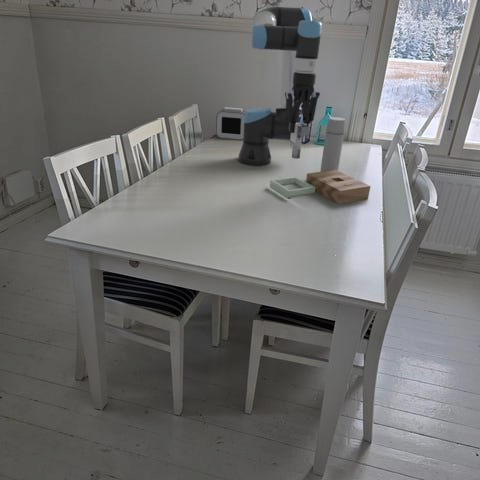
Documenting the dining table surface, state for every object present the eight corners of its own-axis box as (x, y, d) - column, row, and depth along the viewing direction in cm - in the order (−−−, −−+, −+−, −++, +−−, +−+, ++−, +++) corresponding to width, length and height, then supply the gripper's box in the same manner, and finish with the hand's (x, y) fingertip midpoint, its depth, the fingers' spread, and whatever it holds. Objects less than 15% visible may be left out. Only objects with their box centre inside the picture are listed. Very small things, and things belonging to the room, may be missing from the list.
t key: (298, 160, 151) (302, 127, 145) (286, 154, 157) (289, 122, 152) (305, 160, 152) (309, 126, 147) (293, 154, 158) (296, 122, 153)
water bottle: (337, 183, 171) (347, 121, 160) (318, 181, 173) (326, 119, 161) (337, 176, 179) (346, 117, 168) (318, 174, 181) (327, 115, 169)
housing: (305, 188, 165) (307, 173, 162) (333, 184, 171) (335, 169, 168) (337, 206, 149) (340, 190, 146) (367, 201, 155) (370, 185, 152)
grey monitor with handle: (215, 137, 230) (216, 108, 223) (220, 133, 240) (220, 105, 233) (245, 140, 228) (246, 111, 221) (248, 135, 238) (249, 107, 231)
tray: (269, 187, 163) (270, 179, 162) (295, 184, 168) (296, 176, 167) (288, 199, 153) (288, 191, 152) (314, 195, 158) (315, 187, 157)
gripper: (291, 73, 135) (284, 145, 145) (330, 73, 142) (321, 142, 152) (278, 70, 141) (273, 140, 151) (317, 70, 148) (309, 137, 158)
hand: (297, 141), depth 152 cm, fingers closed on t key, 3 cm apart
